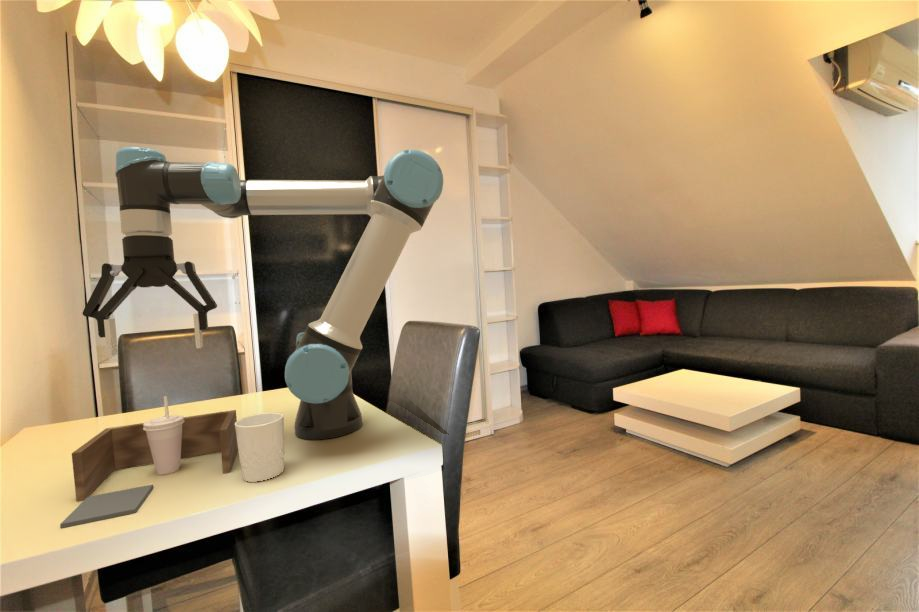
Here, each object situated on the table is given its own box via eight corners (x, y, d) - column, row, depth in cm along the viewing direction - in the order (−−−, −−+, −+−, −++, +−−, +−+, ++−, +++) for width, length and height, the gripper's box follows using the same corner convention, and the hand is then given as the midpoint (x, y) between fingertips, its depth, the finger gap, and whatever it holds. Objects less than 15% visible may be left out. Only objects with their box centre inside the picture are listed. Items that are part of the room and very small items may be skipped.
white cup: (233, 475, 76) (228, 420, 76) (277, 461, 82) (273, 410, 81) (248, 488, 71) (243, 429, 70) (294, 472, 76) (290, 417, 76)
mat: (153, 487, 73) (153, 484, 73) (135, 512, 65) (135, 508, 65) (88, 500, 70) (87, 496, 70) (60, 528, 61) (60, 524, 61)
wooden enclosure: (238, 446, 91) (235, 409, 90) (230, 472, 78) (226, 429, 77) (110, 468, 83) (106, 428, 82) (76, 501, 70) (71, 453, 69)
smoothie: (192, 469, 80) (185, 396, 79) (150, 481, 76) (143, 404, 75) (184, 460, 85) (178, 391, 84) (144, 471, 80) (137, 398, 80)
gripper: (227, 238, 86) (235, 342, 87) (71, 239, 77) (82, 355, 78) (221, 233, 79) (230, 346, 80) (49, 234, 70) (62, 361, 71)
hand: (157, 351), depth 79 cm, fingers open, 13 cm apart
